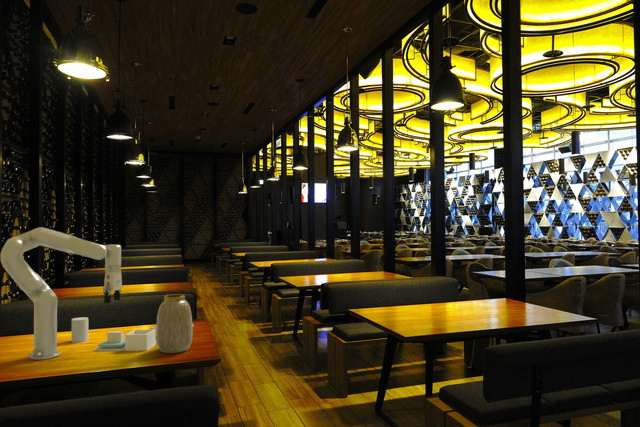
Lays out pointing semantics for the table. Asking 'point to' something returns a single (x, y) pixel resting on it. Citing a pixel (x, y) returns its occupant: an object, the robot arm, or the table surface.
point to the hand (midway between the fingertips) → (112, 301)
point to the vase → (174, 324)
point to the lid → (113, 340)
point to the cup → (79, 330)
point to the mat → (110, 349)
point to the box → (140, 340)
